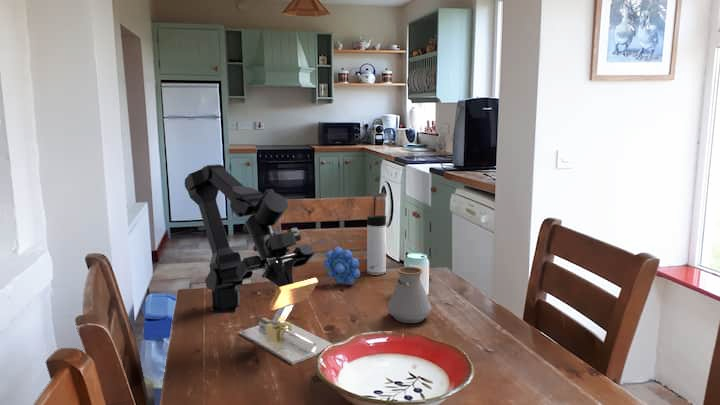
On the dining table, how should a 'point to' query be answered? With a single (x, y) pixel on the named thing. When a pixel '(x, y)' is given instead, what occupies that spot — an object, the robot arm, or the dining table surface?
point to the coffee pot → (409, 297)
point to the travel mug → (376, 244)
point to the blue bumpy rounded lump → (342, 266)
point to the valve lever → (290, 298)
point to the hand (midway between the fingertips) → (291, 293)
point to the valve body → (286, 340)
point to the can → (422, 263)
